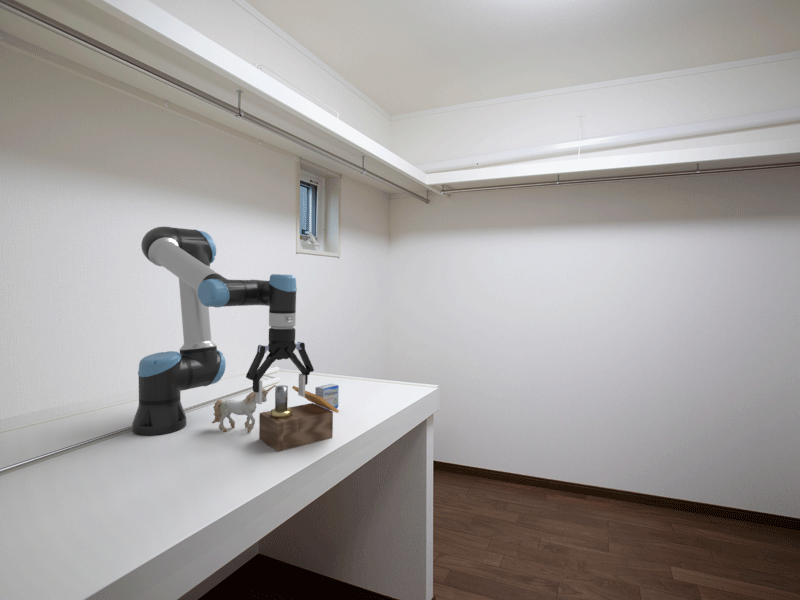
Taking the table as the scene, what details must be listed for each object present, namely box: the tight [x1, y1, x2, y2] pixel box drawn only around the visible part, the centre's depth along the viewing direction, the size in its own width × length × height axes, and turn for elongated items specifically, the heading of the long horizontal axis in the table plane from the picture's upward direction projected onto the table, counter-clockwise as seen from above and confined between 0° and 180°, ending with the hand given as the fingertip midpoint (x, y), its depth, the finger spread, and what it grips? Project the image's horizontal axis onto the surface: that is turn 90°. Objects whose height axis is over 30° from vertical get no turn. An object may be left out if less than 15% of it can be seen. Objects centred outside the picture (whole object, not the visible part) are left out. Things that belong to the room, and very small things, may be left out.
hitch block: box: [258, 402, 334, 453], centre depth 133 cm, size 18×12×8 cm, turn 132°
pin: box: [270, 384, 292, 419], centre depth 130 cm, size 6×6×16 cm
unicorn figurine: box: [211, 384, 277, 434], centre depth 140 cm, size 7×20×13 cm, turn 104°
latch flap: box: [291, 385, 340, 414], centre depth 137 cm, size 8×17×1 cm
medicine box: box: [314, 383, 340, 410], centre depth 165 cm, size 8×4×9 cm, turn 143°
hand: (280, 399), depth 130 cm, fingers open, 13 cm apart
